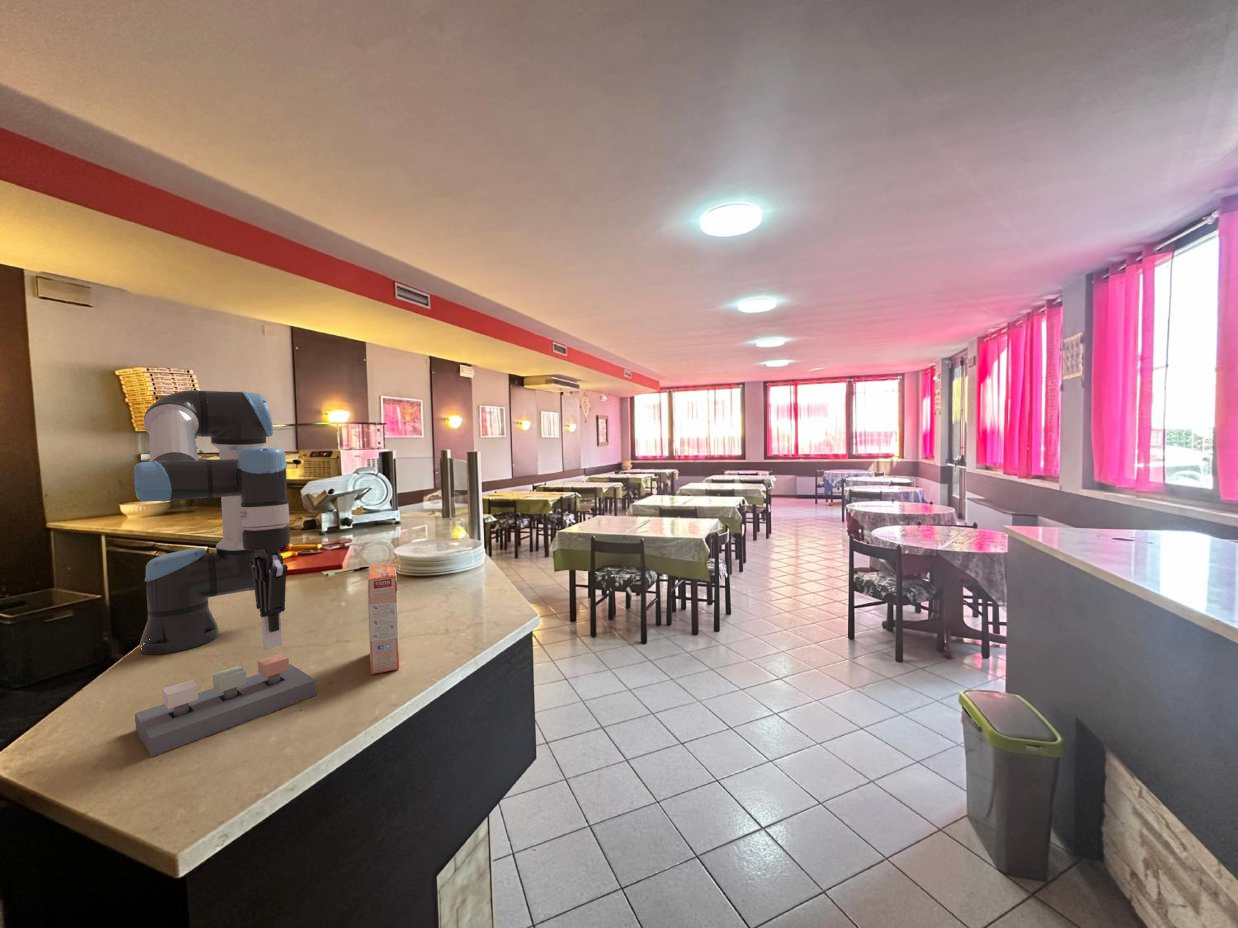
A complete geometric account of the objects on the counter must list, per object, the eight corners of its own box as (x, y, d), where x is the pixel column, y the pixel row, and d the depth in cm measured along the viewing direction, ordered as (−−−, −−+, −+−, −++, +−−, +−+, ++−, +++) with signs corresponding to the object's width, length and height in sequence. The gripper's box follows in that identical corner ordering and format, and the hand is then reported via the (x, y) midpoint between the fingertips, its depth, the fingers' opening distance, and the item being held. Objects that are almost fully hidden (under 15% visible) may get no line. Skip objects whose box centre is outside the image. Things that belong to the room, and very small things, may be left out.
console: (135, 729, 87) (134, 713, 87) (291, 677, 106) (290, 663, 106) (151, 756, 79) (150, 738, 79) (316, 694, 98) (315, 679, 98)
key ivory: (163, 718, 87) (162, 688, 87) (193, 708, 90) (191, 679, 90) (169, 725, 84) (167, 695, 84) (199, 715, 87) (197, 685, 87)
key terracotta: (258, 686, 98) (257, 660, 98) (282, 678, 101) (280, 653, 101) (266, 692, 95) (264, 665, 95) (289, 684, 98) (288, 657, 98)
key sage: (214, 701, 92) (212, 673, 92) (240, 692, 95) (238, 665, 95) (220, 708, 90) (219, 679, 90) (247, 698, 93) (245, 670, 93)
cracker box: (401, 670, 108) (397, 574, 108) (370, 676, 106) (365, 578, 105) (399, 647, 121) (395, 562, 120) (371, 652, 118) (367, 565, 118)
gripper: (232, 527, 98) (238, 645, 99) (254, 532, 90) (261, 661, 91) (276, 522, 104) (282, 633, 105) (300, 526, 96) (307, 647, 97)
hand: (272, 646), depth 98 cm, fingers closed
